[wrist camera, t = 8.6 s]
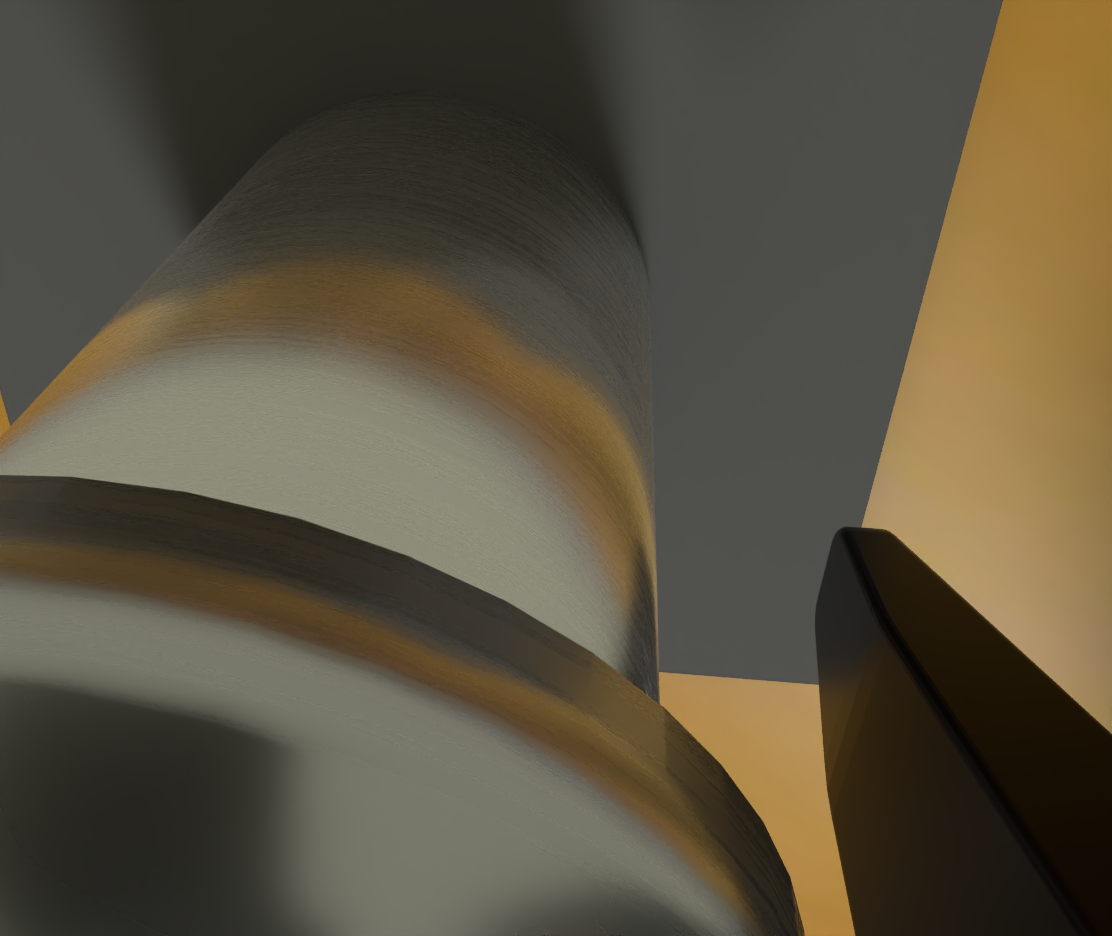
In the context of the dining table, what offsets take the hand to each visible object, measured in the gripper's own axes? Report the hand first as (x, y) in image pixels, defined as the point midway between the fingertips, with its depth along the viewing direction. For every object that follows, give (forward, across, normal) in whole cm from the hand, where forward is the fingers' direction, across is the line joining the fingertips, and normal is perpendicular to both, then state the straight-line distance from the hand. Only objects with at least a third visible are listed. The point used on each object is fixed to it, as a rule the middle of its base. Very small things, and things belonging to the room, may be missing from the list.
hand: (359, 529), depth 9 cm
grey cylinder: (+4, 0, 0) cm, 4 cm away
